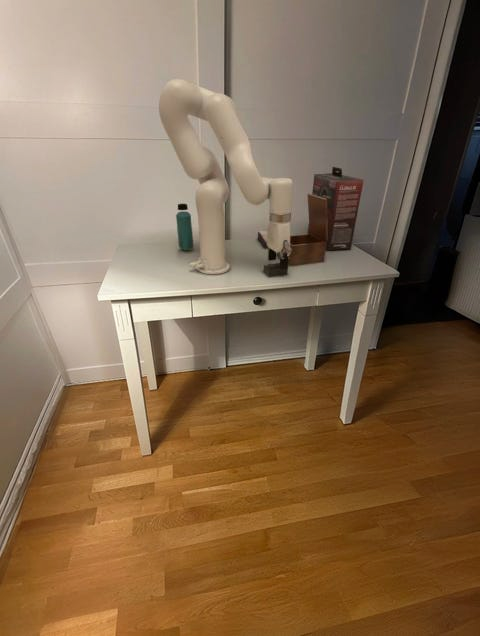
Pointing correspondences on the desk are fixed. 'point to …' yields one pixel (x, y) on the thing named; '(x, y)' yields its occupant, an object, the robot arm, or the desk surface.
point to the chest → (306, 249)
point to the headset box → (339, 206)
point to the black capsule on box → (274, 270)
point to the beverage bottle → (184, 228)
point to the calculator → (263, 238)
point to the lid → (318, 215)
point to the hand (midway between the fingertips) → (277, 264)
